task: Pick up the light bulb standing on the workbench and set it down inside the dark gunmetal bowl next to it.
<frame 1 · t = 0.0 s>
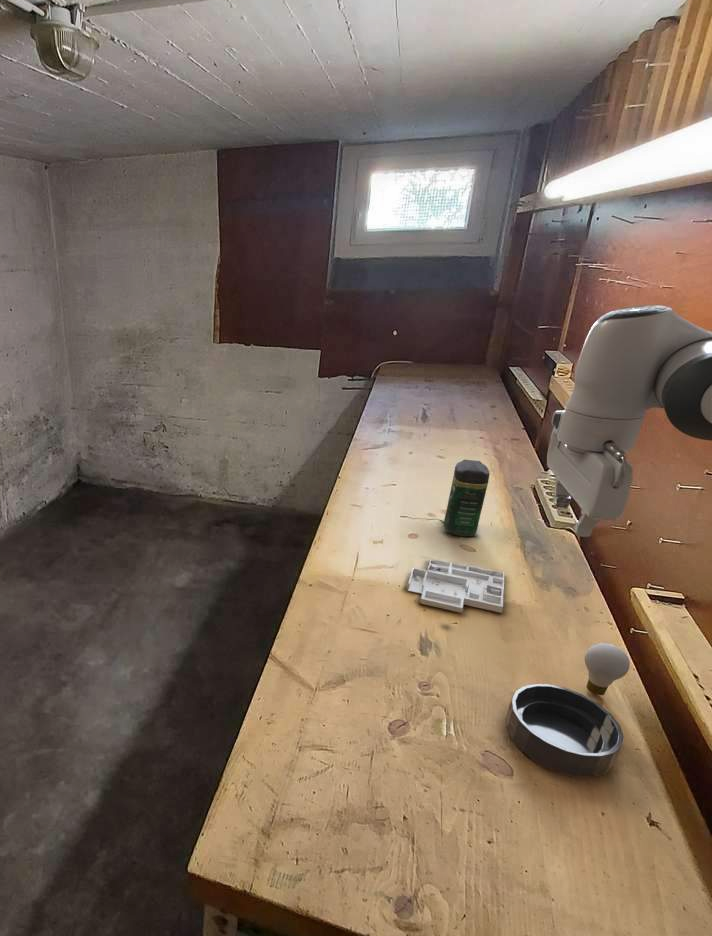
hand: (570, 519, 83), 33 cm above the table, tool pointing down, fingers open, 8 cm apart
bowl: (556, 740, 88), on the table
floor plan model: (453, 596, 123), on the table
light bulb: (593, 694, 96), on the table
coffee jar: (459, 529, 149), on the table
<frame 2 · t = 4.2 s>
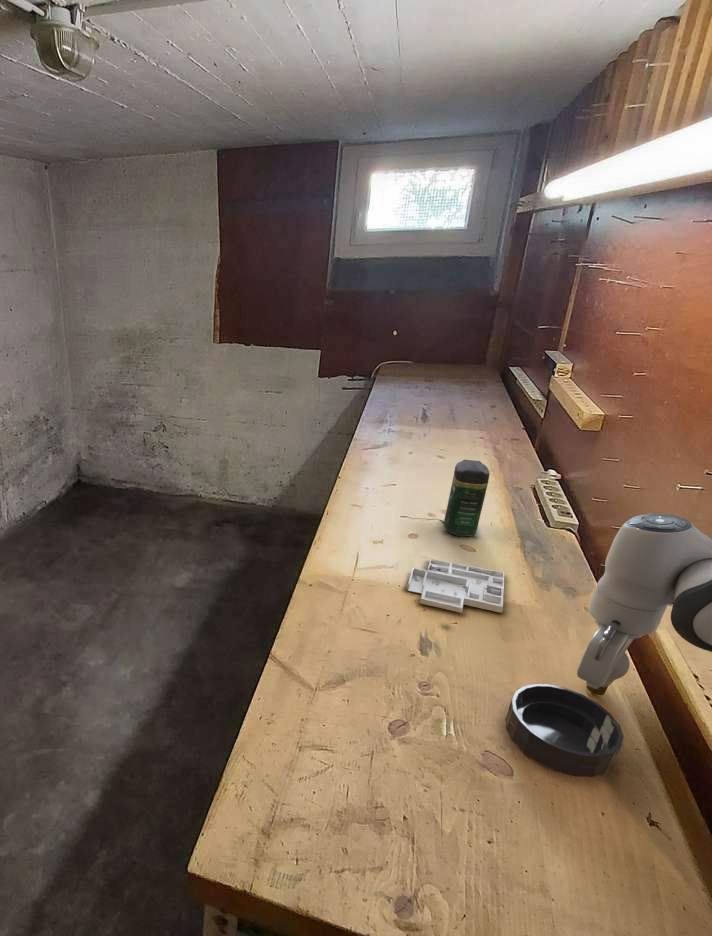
hand: (598, 676, 94), 4 cm above the table, tool pointing down, fingers closed on light bulb, 5 cm apart
light bulb: (593, 694, 96), on the table, touching gripper
everything else where it was.
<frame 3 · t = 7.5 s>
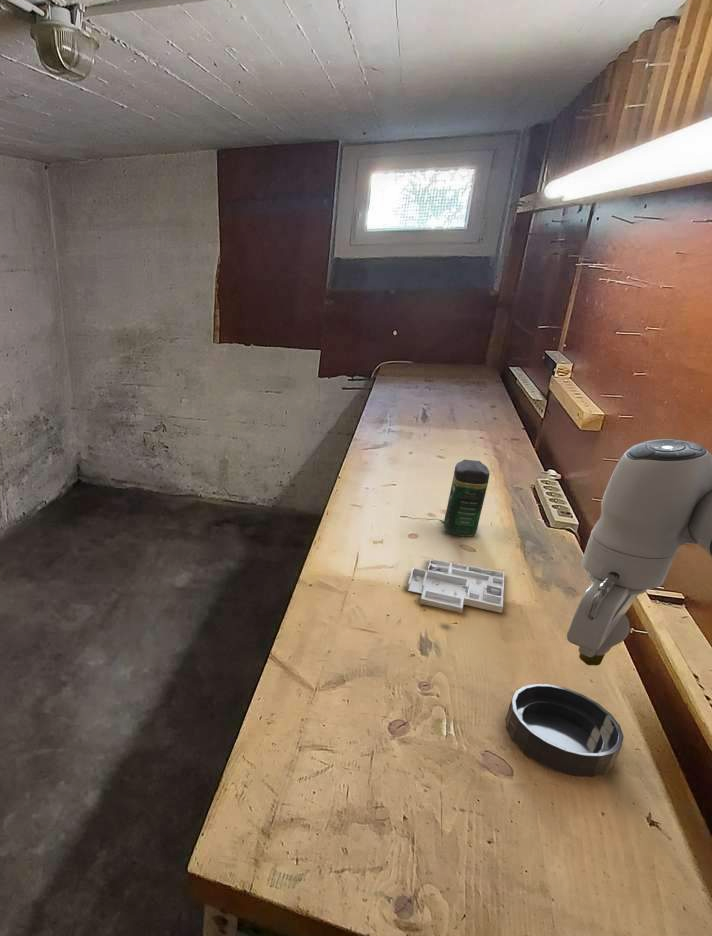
hand: (594, 643, 80), 19 cm above the table, tool pointing down, fingers closed on light bulb, 5 cm apart
light bulb: (587, 664, 81), point 15 cm above the table, touching gripper
everything else where it was.
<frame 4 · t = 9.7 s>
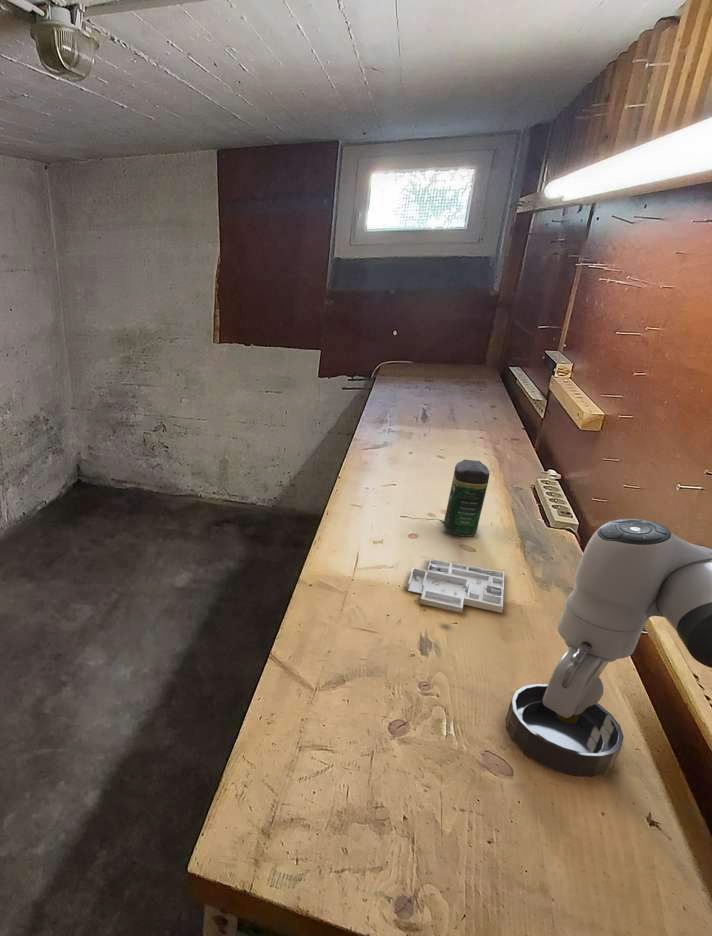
hand: (570, 702, 84), 8 cm above the table, tool pointing down, fingers closed on light bulb, 5 cm apart
light bulb: (564, 722, 86), point 4 cm above the table, touching gripper
everything else where it was.
when the fingers open (4 cm above the table, at t = 11.2 s): light bulb stays where it is, resting on bowl.
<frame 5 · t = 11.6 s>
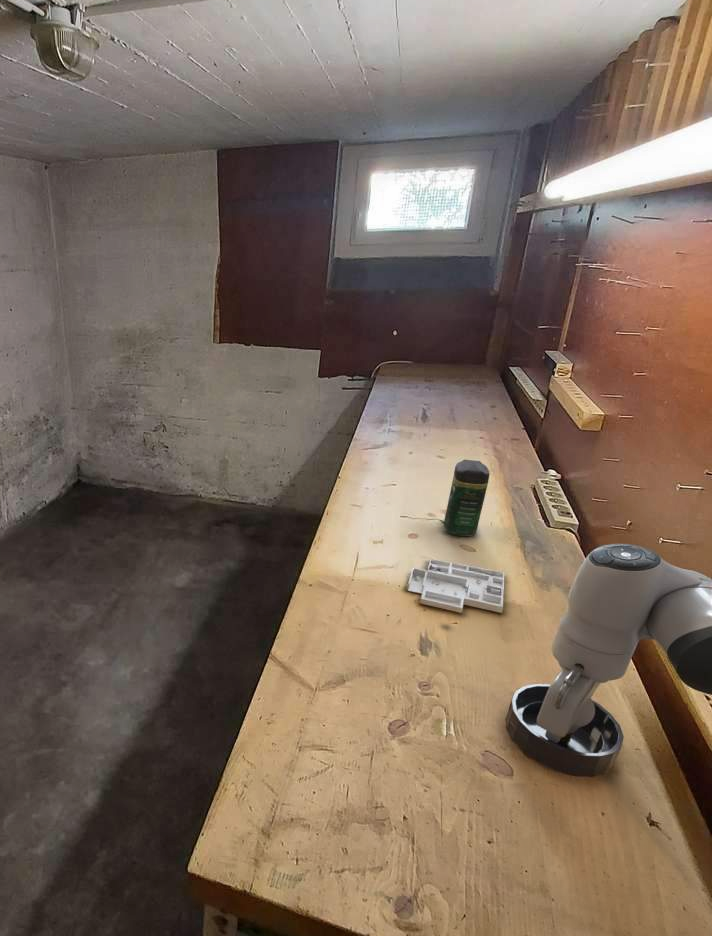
hand: (564, 721, 86), 4 cm above the table, tool pointing down, fingers open, 8 cm apart
light bulb: (558, 739, 87), resting on bowl
everything else where it was.
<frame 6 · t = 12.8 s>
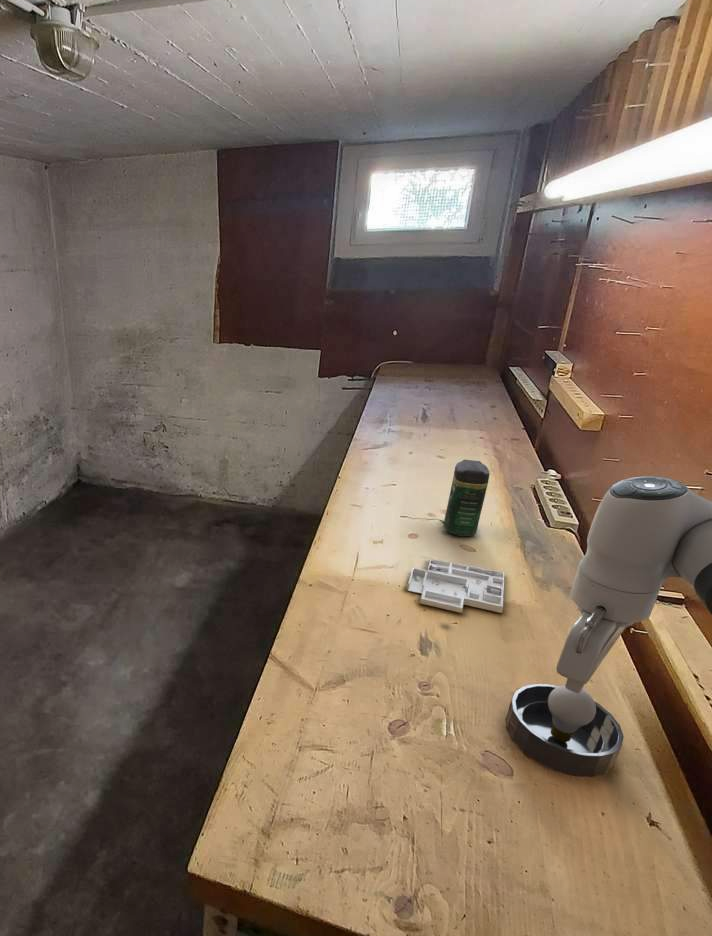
hand: (585, 672, 81), 14 cm above the table, tool pointing down, fingers open, 8 cm apart
nothing on the table moved.
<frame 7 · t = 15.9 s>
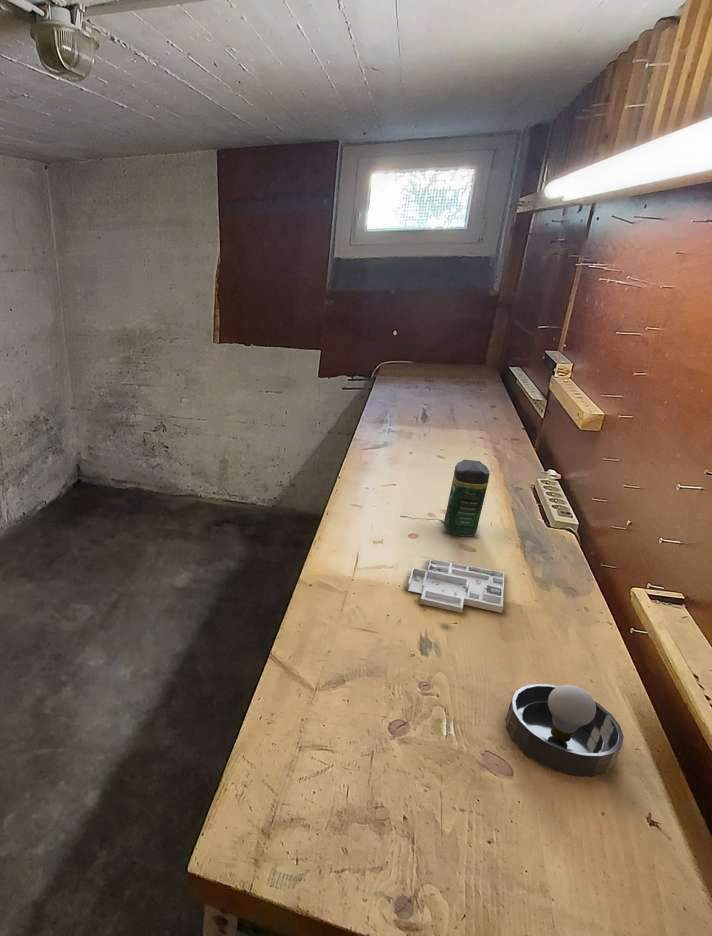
nothing on the table moved.
at the end: light bulb inside the target area in the bowl (0.2 cm from its centre), point 0.4 cm above the bowl's base; the gripper is holding nothing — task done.
